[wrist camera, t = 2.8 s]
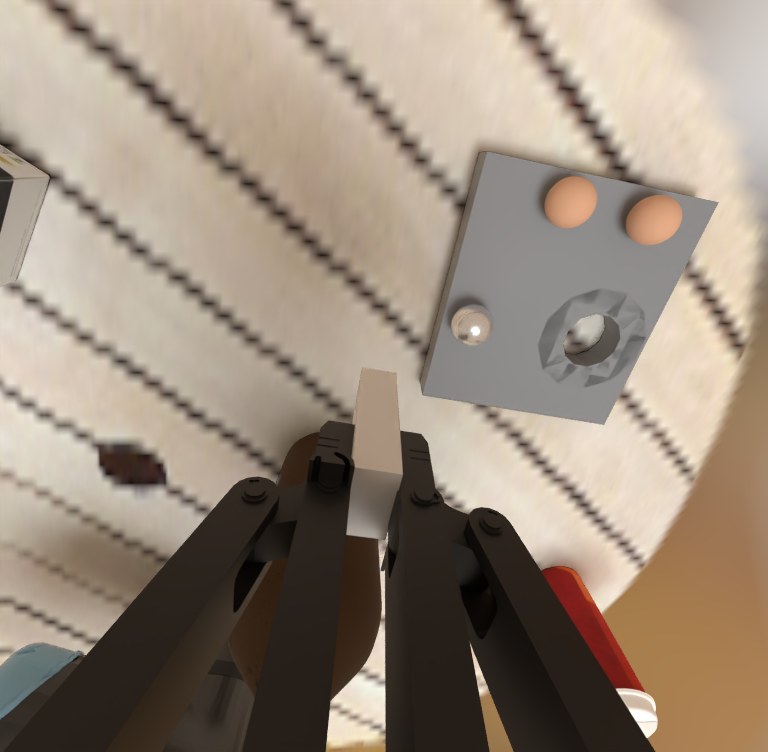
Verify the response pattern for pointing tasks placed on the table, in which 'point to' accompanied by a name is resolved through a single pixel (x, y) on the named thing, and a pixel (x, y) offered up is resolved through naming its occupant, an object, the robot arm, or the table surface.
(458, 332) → the ball
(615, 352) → the plate
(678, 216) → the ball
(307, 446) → the olive oil
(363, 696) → the table surface
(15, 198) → the tea box
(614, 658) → the coffee cup
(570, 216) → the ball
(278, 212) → the table surface
